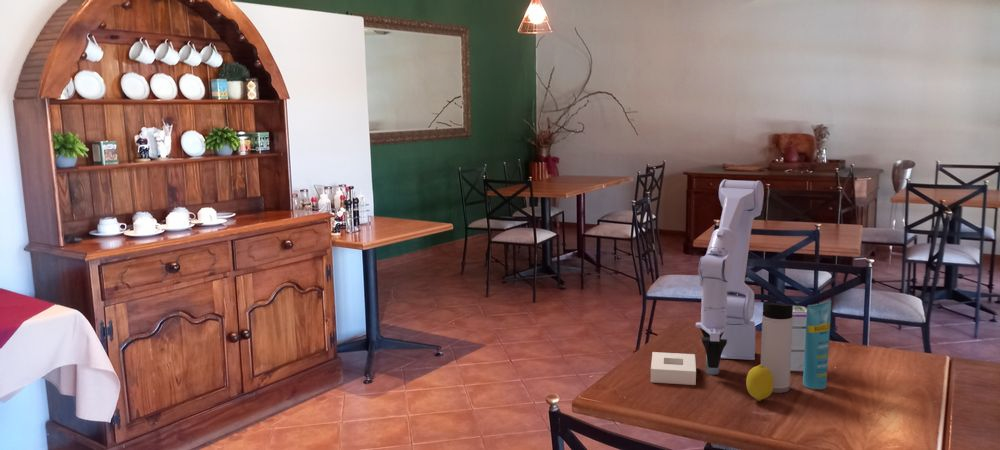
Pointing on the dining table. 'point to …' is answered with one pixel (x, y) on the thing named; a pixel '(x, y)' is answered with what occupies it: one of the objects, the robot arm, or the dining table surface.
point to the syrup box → (798, 338)
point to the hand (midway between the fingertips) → (712, 361)
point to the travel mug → (777, 343)
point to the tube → (817, 345)
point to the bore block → (673, 368)
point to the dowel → (711, 369)
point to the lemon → (759, 382)
